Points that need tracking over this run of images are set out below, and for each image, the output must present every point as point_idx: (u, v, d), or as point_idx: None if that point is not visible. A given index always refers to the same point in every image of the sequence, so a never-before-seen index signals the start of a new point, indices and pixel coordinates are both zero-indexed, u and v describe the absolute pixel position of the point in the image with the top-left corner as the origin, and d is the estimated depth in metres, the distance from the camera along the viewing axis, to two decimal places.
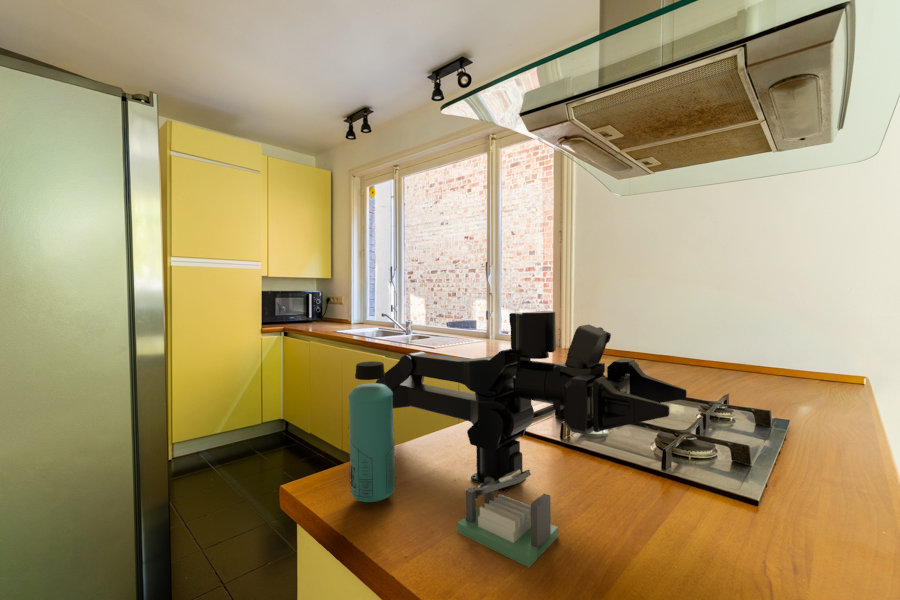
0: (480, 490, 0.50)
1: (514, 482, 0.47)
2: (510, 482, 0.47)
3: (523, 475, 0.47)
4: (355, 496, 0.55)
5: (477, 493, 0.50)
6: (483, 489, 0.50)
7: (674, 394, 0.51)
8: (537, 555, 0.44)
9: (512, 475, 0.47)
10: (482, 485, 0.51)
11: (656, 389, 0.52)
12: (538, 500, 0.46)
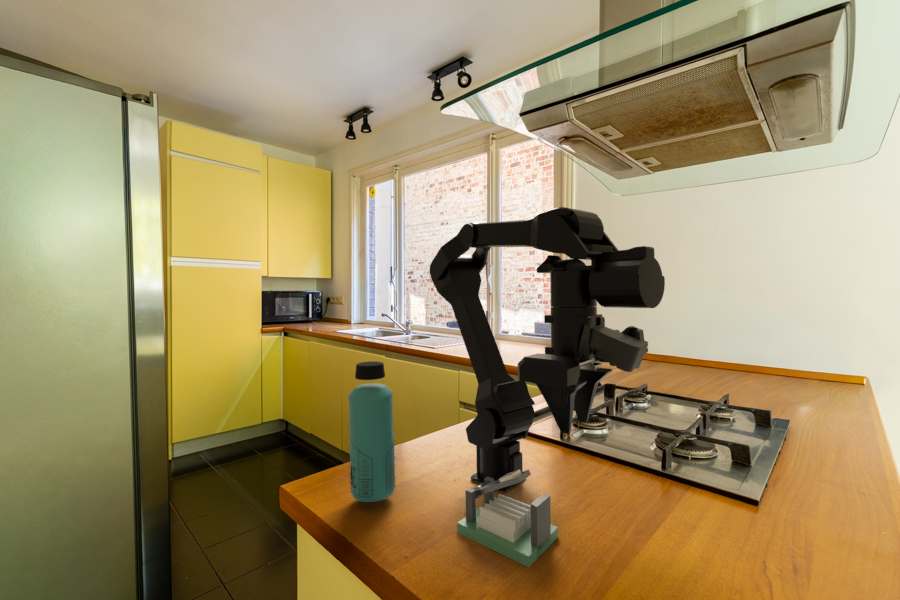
0: (480, 490, 0.50)
1: (514, 482, 0.47)
2: (510, 482, 0.47)
3: (523, 475, 0.47)
4: (355, 496, 0.55)
5: (477, 493, 0.50)
6: (483, 489, 0.50)
7: (580, 412, 0.54)
8: (537, 555, 0.44)
9: (512, 475, 0.47)
10: (482, 485, 0.51)
11: (583, 396, 0.54)
12: (538, 500, 0.46)
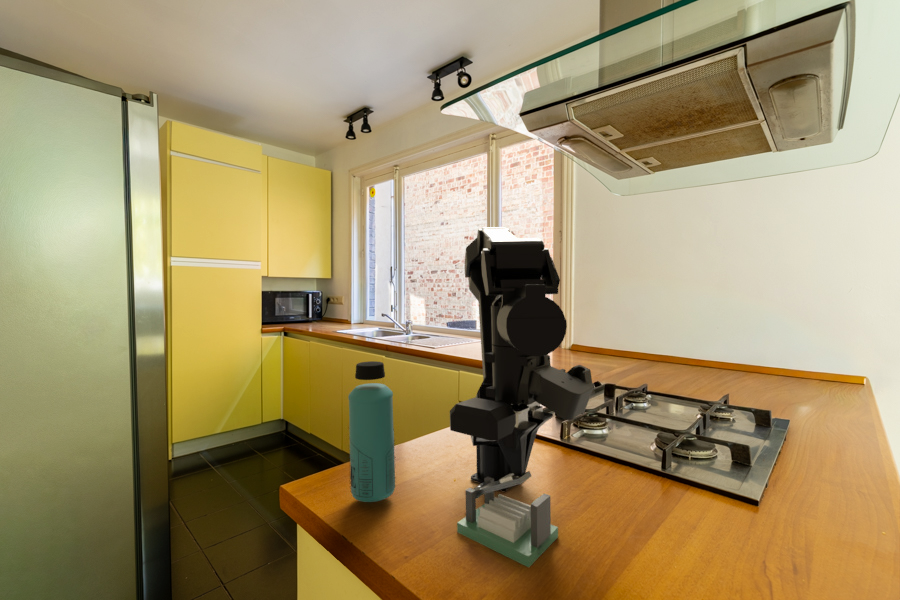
0: (480, 490, 0.50)
1: (515, 483, 0.46)
2: (511, 483, 0.47)
3: (524, 476, 0.47)
4: (355, 496, 0.55)
5: (477, 493, 0.50)
6: (483, 489, 0.49)
7: None
8: (537, 555, 0.44)
9: (513, 476, 0.47)
10: (482, 485, 0.51)
11: None
12: (538, 500, 0.46)
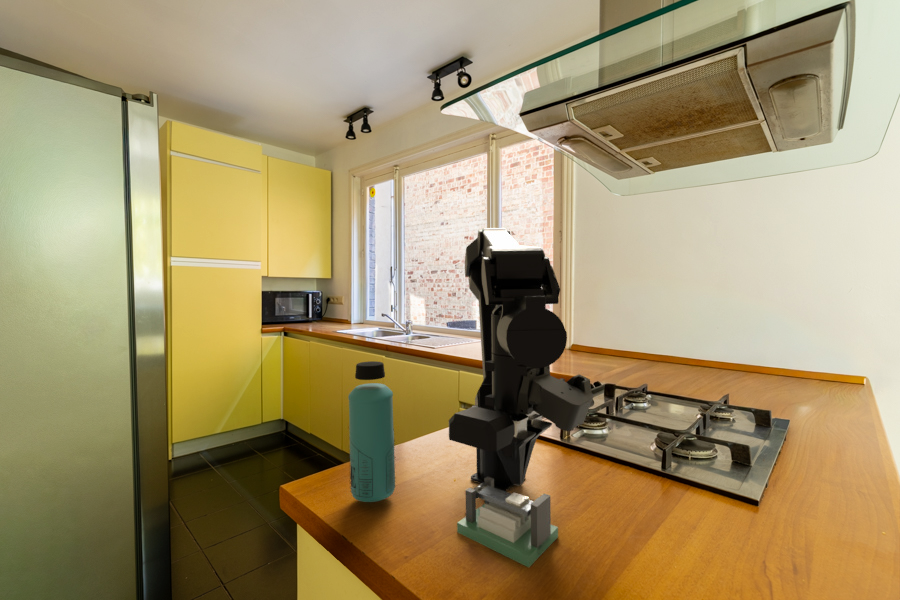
0: (482, 495, 0.50)
1: (521, 512, 0.46)
2: (516, 509, 0.46)
3: None
4: (355, 496, 0.55)
5: (477, 495, 0.50)
6: (485, 496, 0.49)
7: None
8: (537, 555, 0.44)
9: (521, 504, 0.47)
10: (484, 487, 0.51)
11: None
12: (538, 500, 0.46)
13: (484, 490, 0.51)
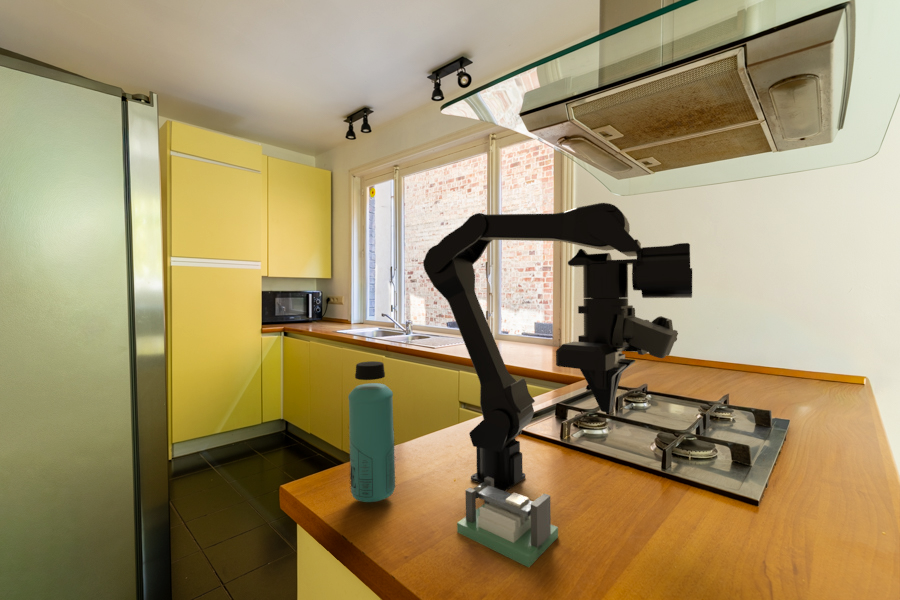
0: (482, 495, 0.50)
1: (521, 513, 0.46)
2: (516, 510, 0.46)
3: None
4: (355, 496, 0.55)
5: (477, 495, 0.50)
6: (485, 496, 0.49)
7: None
8: (537, 555, 0.44)
9: (521, 504, 0.47)
10: (484, 487, 0.51)
11: None
12: (538, 500, 0.46)
13: (484, 490, 0.51)
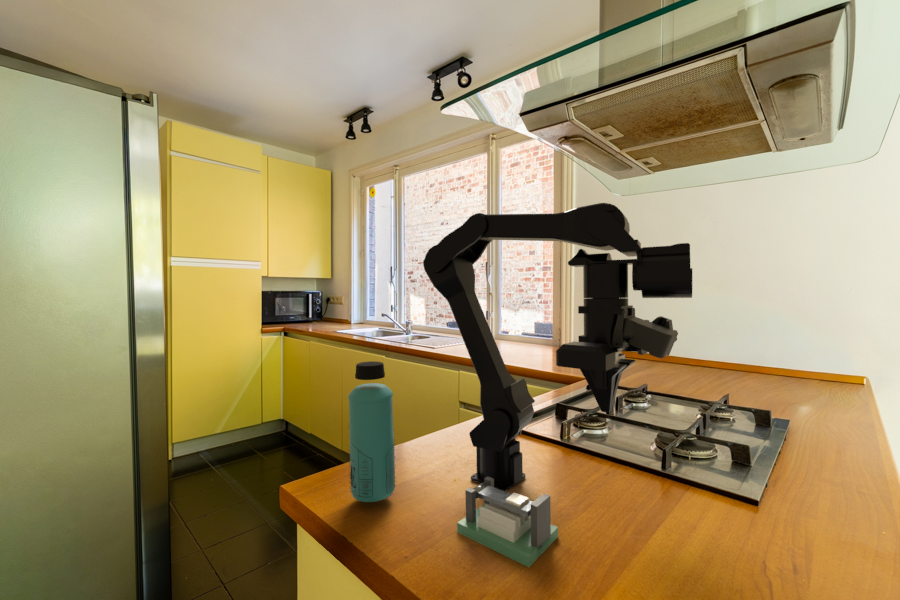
0: (482, 495, 0.50)
1: (521, 513, 0.46)
2: (516, 510, 0.46)
3: None
4: (355, 496, 0.55)
5: (477, 495, 0.50)
6: (485, 496, 0.49)
7: None
8: (537, 555, 0.44)
9: (521, 504, 0.47)
10: (484, 487, 0.51)
11: None
12: (538, 500, 0.46)
13: (484, 490, 0.51)
